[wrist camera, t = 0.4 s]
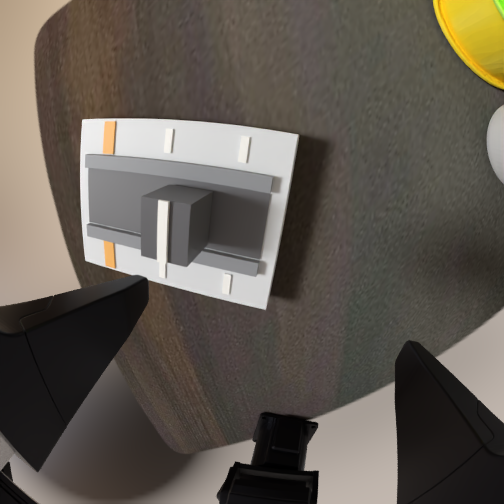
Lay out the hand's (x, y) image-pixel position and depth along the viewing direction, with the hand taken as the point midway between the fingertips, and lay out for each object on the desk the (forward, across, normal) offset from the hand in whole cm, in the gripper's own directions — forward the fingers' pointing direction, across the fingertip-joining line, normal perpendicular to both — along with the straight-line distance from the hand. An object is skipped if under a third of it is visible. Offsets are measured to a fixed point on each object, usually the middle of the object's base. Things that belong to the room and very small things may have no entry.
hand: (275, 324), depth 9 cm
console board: (+12, +9, 0) cm, 15 cm away
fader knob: (+9, +7, 0) cm, 12 cm away
